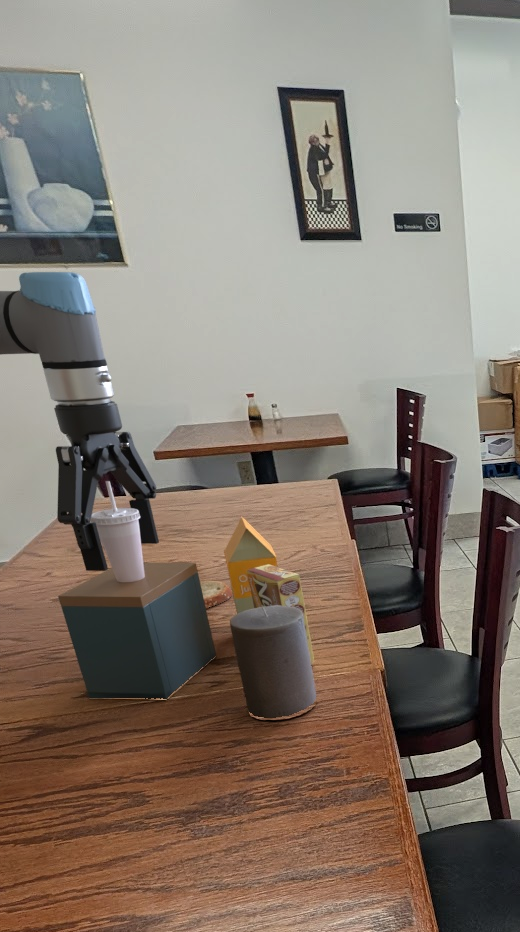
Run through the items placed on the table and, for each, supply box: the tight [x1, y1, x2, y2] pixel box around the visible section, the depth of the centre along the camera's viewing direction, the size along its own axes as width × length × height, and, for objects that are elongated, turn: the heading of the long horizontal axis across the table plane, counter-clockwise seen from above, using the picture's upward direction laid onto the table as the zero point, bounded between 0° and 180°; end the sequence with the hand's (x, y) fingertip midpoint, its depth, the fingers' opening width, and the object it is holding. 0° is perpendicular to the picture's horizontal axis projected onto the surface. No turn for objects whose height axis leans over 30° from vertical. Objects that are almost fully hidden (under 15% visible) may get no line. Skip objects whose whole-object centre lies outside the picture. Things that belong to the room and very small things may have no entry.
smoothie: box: [90, 480, 145, 582], centre depth 117 cm, size 6×6×14 cm
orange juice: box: [223, 515, 279, 615], centre depth 138 cm, size 8×9×20 cm
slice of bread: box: [200, 580, 233, 610], centre depth 156 cm, size 18×18×4 cm
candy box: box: [247, 564, 316, 664], centre depth 128 cm, size 9×4×15 cm, turn 50°
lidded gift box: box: [57, 562, 217, 699], centre depth 124 cm, size 12×16×16 cm
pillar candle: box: [229, 605, 317, 718], centre depth 114 cm, size 10×10×15 cm
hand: (124, 556), depth 119 cm, fingers open, 13 cm apart
